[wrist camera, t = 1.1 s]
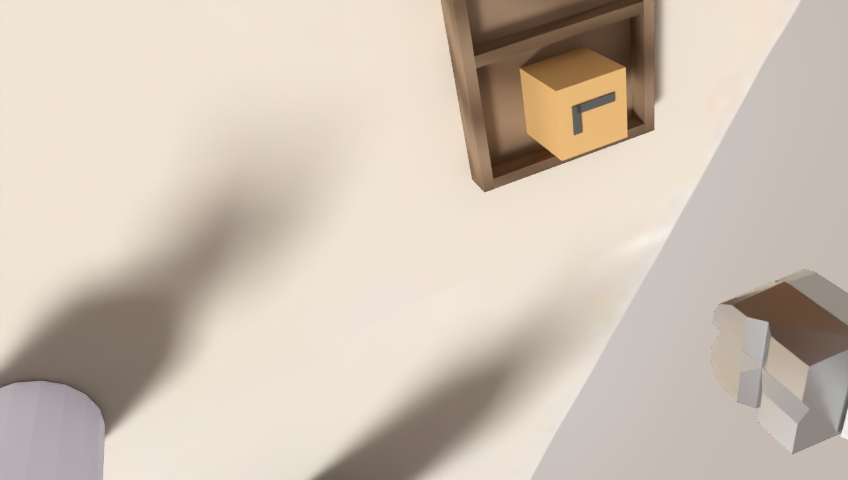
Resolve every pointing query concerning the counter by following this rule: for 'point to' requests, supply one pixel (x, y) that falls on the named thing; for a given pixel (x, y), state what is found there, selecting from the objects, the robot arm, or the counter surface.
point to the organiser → (530, 43)
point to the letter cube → (575, 102)
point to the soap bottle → (49, 433)
